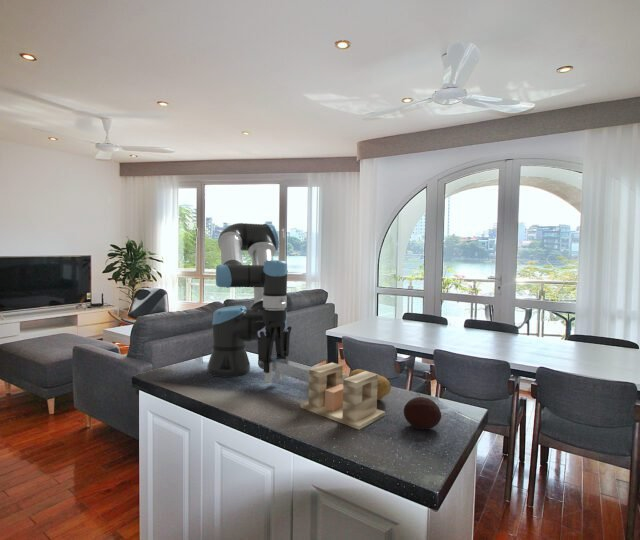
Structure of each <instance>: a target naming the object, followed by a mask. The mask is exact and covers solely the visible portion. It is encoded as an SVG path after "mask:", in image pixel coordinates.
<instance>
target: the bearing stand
mask: <svg viewBox="0 0 640 540" xmlns="http://www.w3.org/2000/svg"><path fill="white" fill-rule="evenodd" d="M343 366H344V365H343V364H339V363H335V362H329V363H326V364H323V365H320V366H316V367H314V368H313V369H309V383H308V400H307V401H305V402H302V403H300V408H301V409H304V410H306V411H309V412H311V413H314V414H317V415H320V416H322V417H324V418H327V419H329V420H333V421H335V422H337V423H341V424H343V425H346V426H349V427H350V428H353V429H355V430H362V429H363V428H366V427H367V426H368V425H370V424H372V423H374V422H376V421H377V420H379V419H381V418H383V417H385V415H386V411H384V410H381V409H378V400H377V384H378V375H379V374H378V373H375V372H372V371H369V372H367V371H368V370H365V372H362V373H359V374H357V375H354V376H351V377H349V376H348V377H346V378H344V379H343V370H344V369H343ZM371 372H372V373H371ZM327 375H329V376H328V384H327ZM339 384H343V407H341V408H339V409H337V410H334V411H331V410H329V409H326V408H325V390H326V389H329V388H332V387H334V386H337V385H339Z"/></svg>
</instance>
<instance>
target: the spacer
mask: <svg viewBox="0 0 640 540" xmlns="http://www.w3.org/2000/svg"><path fill="white" fill-rule="evenodd" d="M341 407H343V383H342V384H339V385H337V386H334V387H332V388H329V389H326V390H325V408H326V409H329V410H331V411H334V410H337V409H339V408H341Z"/></svg>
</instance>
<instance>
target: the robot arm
mask: <svg viewBox="0 0 640 540" xmlns="http://www.w3.org/2000/svg"><path fill="white" fill-rule="evenodd" d="M217 244H218V248H219V250H220V260H221V261H220V262H221V264H218V265H216V266H215V286H217V287H218V288H225V289H226V288H253V296H254V297H253V298H254V299H253V300H254V303H253V304H252V305H251V307H250V309H247V307H246V306H245V305H243V304H242V305H230V306H225V307H221V308H218V309H216V310H215V311H214V312H213V315H212V317H213V318H212V323H211V324H212V351H211V354H210V357H209V360H208V364H207V367H206V368H207V369H206V371H207V374H208V375H211V376H213V377H219V378H232V377H238V376H240V377H241V376H243V375H247V374H248V373H249V372H250V371H251V363H250V360H249V356H248V353H247V350H246V343H248V342H249V343H250V342H252V343H253V342H257V356H258V357H257V359H258V360H259V361H262V362H263V363H264V369H263V373H264V382H265V383H268V384H270V385H271V384H272V383H273V371H272V364H273V363H272V362H271V356H273V348H274V345H275V351H276V352H275V353H276V357H278V358H281V359H285V360H287V357H289V354H290V353H289V352H290V337H291V331H292V326H289V325H287V321H288V319H287V318H288V312H287V309H286V308H287V305H288V304H287V302H288V301H287V297H288V296H287V295H288V294H287V293H288V292H287V291H288V289H287V288H288V273H289V272H288V271H289V270H288V263H287V261H286V260H278V259H277V260H275V259H274V257H273V256H275V254H276V252H277V251H278V250H279V248H280V247H279V245H280V240H279V233H278V229H277V227H276V226H275V225H273V224H268V223H263V224H262V223H244V222H238V223H233V224H231V225H228V226H227V227H226V228H224V229H223V230H222V231H221V232H220V233H219V236H218V238H217ZM242 251H246V252H247V254H248V256H249V257H251V261H252V262H251V263H252V264H250V265H249V264H244V263H243V254H242ZM274 343H275V344H274ZM258 360H257V361H258ZM274 379H275V380H278V381H283V375H282V374H279V373H276V372H274Z"/></svg>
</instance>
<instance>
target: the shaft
mask: <svg viewBox="0 0 640 540" xmlns="http://www.w3.org/2000/svg"><path fill="white" fill-rule="evenodd" d="M271 362H272V363H273V364H272V373H273V372H274V373H275V372H276V373H279V374H282V376H285V377H286V376H287V377H290V378H291V379H295V380H298V381H302V382H304V383H308V384H309V369H313V368H315V367H313V366H309V365H305V364H302V363H300V362H296V361H292V360H288V359H286V360H285V359H281V358H278V357H277V356H275V355H271ZM257 365H258V367H259V369H261V370H264V363H263V362H262V361H259V360H257ZM328 376H329V375H327V384H328Z"/></svg>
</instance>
